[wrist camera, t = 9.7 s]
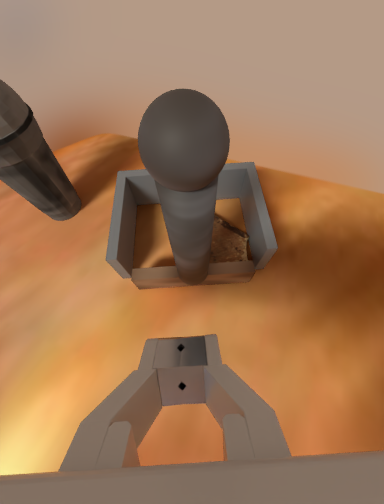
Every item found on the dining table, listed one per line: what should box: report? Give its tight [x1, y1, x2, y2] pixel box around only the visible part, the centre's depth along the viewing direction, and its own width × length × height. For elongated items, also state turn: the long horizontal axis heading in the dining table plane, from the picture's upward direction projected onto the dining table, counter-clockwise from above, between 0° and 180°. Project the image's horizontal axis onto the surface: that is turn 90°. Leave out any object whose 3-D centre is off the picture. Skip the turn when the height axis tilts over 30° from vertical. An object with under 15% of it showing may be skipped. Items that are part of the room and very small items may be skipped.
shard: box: [209, 215, 249, 264], centre depth 26 cm, size 11×8×2 cm
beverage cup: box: [0, 80, 81, 221], centre depth 20 cm, size 7×7×20 cm
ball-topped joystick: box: [131, 89, 255, 289], centre depth 15 cm, size 12×4×18 cm, turn 94°
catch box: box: [106, 162, 278, 278], centre depth 24 cm, size 16×12×5 cm
